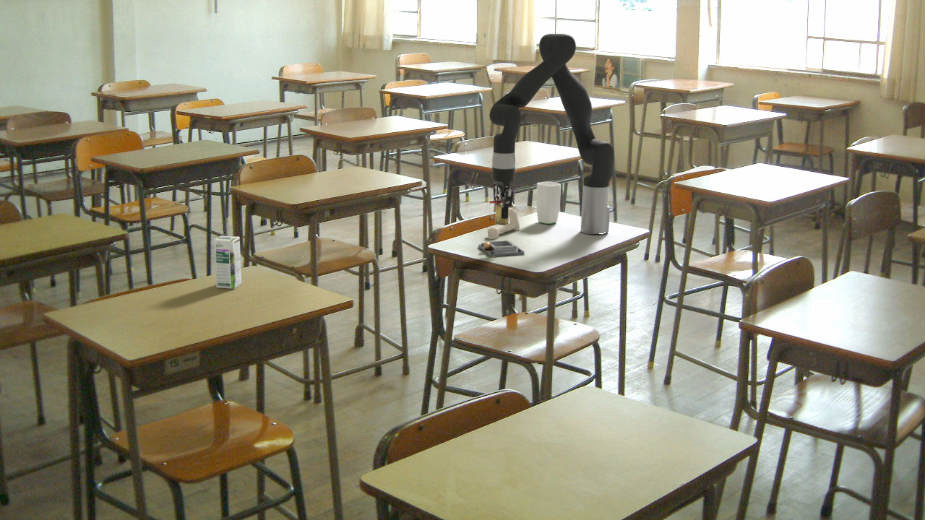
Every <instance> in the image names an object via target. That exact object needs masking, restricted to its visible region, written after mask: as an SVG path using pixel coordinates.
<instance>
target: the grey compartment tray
mask: <svg viewBox="0 0 925 520" xmlns="http://www.w3.org/2000/svg"><path fill="white" fill-rule="evenodd" d="M478 247H479V250H480V251H482V252H483V251H484V252H485V254H486V255H487V256H488V257H489V256H490V258H492V257H491V256H496V257H508V256H507V255H511V256H521V255H523V256H524V255H525V251H524V250H523V249H522V248H520V247H519V246H517V245H516V244H515V243H513V242H512V241H510V240H508V239H506V240H502V239H501V240H491V241H490V240H487V241H486V242H482V243H480V244H478ZM478 247H477V248H478ZM484 252H483V253H484Z"/></svg>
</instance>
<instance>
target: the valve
mask: <svg viewBox="0 0 925 520" xmlns="http://www.w3.org/2000/svg"><path fill="white" fill-rule="evenodd" d="M488 203H489V204H495V210H494V211H495V213H494V214H495V215H494V224H495V225H498V226H503V225H507V224H509V220H510V218H509V211H510V210H509V209H510V207H509V208H508V218H507V219H502V218H501V208H502V207H501V201H494V200H489V201H488ZM496 203H499V204H498V205H496Z"/></svg>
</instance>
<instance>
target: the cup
mask: <svg viewBox="0 0 925 520" xmlns="http://www.w3.org/2000/svg"><path fill="white" fill-rule="evenodd" d="M561 191H562V184H561V183H558V182H554V181H548V180H547V181H542V182H537V183H536V214H537V221H538V222H539V223H541V224H543V225H551V224H556V223H557V222H558V218H559V212H560V205H561V193H562V192H561Z"/></svg>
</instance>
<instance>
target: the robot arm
mask: <svg viewBox="0 0 925 520" xmlns="http://www.w3.org/2000/svg"><path fill="white" fill-rule="evenodd" d="M538 49H539V54H540V57H541V59H542V62H541V63H539V64H538V65H537V66H535V67H534V68H532V69H531V70H529V71H528V72H527V73H525V74H524V75H522V77H520V79H519V80H518V81H517V82H516V83H515V84H514V86H513V87H512V88H511V90H510V91H509V92H508V93H505V95H503V96H502V97H501V98H500V99H498V100H497V101H496V102H495V103H494V104H493V106H492V107H491V108H490V111H489V120H490V123H492V124H493V125H495V126H499V127H500V126H501V127H503V129H502V132H500V133H496V134H495V135H494V136H493V150H492V151H493V153H492V159H491V160H492V161H491V162H492V164H491V180H492V181H494V182H493V183H492V191H493V201H501V207H502V208H501V218H502V219H507V218H508V208H509V209H510V208H512V204H513V197H514V190H513V189H511V185H510V184H511V182H513V181H515V177H516V139H517V135H518V132H519V129H520V125H521V121H522V113H521V111H520V109H522V108H526V106H527V105H528V104H529V103H530V102H531V101H532V100H533V98H534V97H535V95H537V93H538V92H539V90H540V89H541V88H542V87H543V86H544V85H545V84H546V83H547V82H548V81H549V80H550V79H552V81H553V83H554V85H555V88H556V91H557V93H558V95H559V98H560V101H561V104H562V106H563V109H564V111H565V114H566V116H567V119H568V121H569V124H570V126H571V129H572V132H573V135H574V138H575V141H576V145H577V149H578V153H579V156H580V158H581V160H582V162H583V163H585V164H587V165H589V166H592V168H591V169H592V170H591V173H590V174H588V175H585V176H584V177H583V182H582V201H581V202H582V203H581V216H580V218H581V219H580V232H581V234H582V233H583V234H586V235H590V234H599V233H604V232H610V231H609V229H610V213H611V207H610V206H609V194H610V193H609V192H610V181H611V180H612V176H613V171H614V170H613V169H614V162H615V161H614V160H615V151H614V147H613V145H612V144H611V143H610V142H608V141H603V140H600V139H597V138H596V135H595V134H594V132H593V129H592V126H591V119H592V112H593V105H592V102H591V99H590V97H589V93H588V91H587V89H586V87H585V86H584V84H583V83H582V82H581V81H580V80H579V79H578V78H577V76H575V75H574V74H573V72H572V71H571V70H570V68H569V67H568V66H567V63H568V62H569V61H571V59H573V57H574V55H575V53H576V49H577V43H576V40H575V38H573V36H572V35H570V34H567V33H547V34H544V35H543V36H542V37H541V38H540V40H539V44H538ZM498 204H499V203H495V206H496V205H498Z"/></svg>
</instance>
